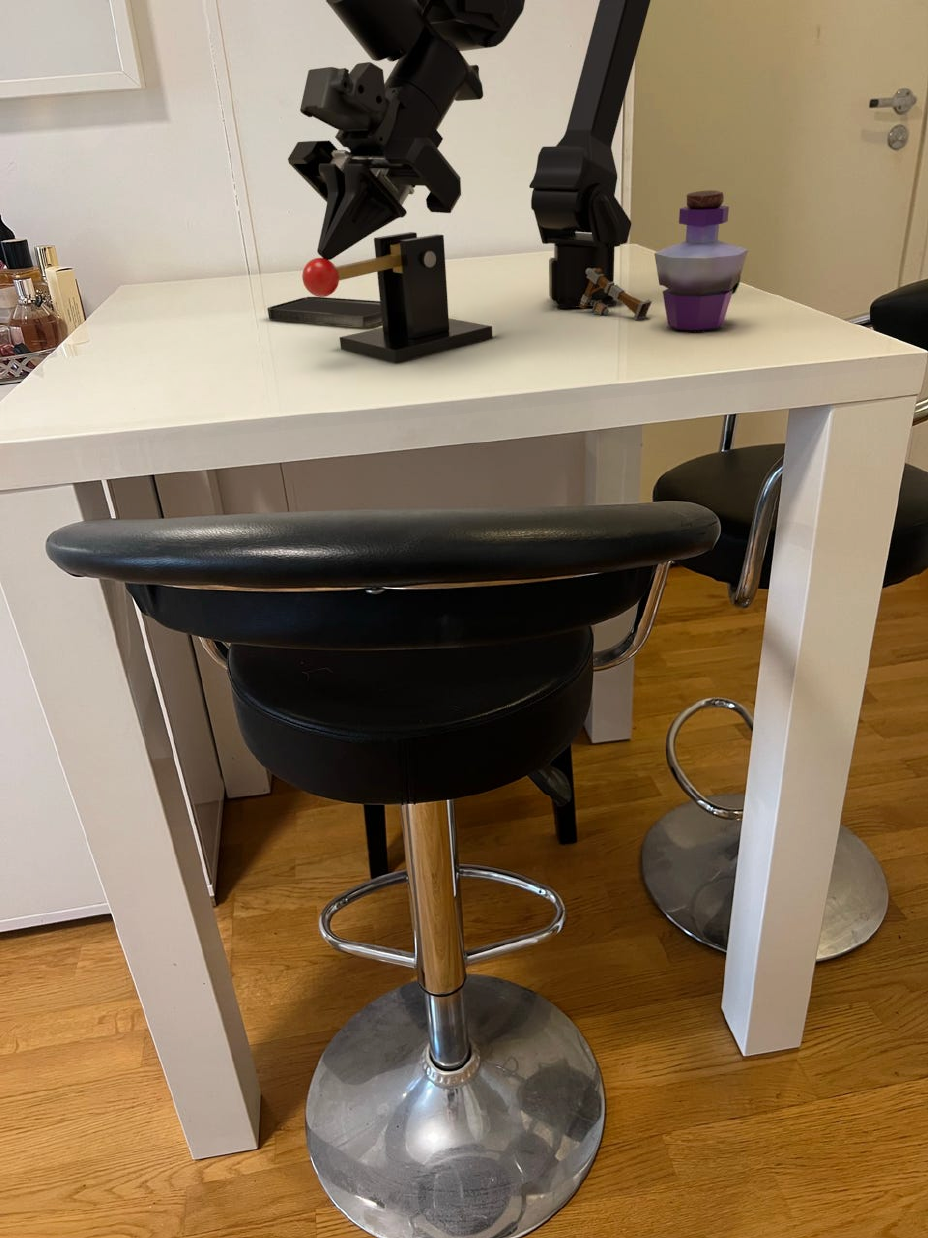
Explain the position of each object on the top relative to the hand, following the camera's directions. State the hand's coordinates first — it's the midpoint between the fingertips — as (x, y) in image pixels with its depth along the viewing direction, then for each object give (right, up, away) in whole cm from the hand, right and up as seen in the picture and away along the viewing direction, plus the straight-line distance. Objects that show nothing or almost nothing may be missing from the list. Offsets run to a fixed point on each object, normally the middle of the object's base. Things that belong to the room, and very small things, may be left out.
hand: (323, 256), depth 77 cm
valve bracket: (+8, -5, +10) cm, 13 cm away
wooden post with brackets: (+28, 0, +16) cm, 32 cm away
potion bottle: (+35, -3, +10) cm, 37 cm away
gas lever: (+4, -1, +4) cm, 5 cm away
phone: (-2, +3, +23) cm, 24 cm away
